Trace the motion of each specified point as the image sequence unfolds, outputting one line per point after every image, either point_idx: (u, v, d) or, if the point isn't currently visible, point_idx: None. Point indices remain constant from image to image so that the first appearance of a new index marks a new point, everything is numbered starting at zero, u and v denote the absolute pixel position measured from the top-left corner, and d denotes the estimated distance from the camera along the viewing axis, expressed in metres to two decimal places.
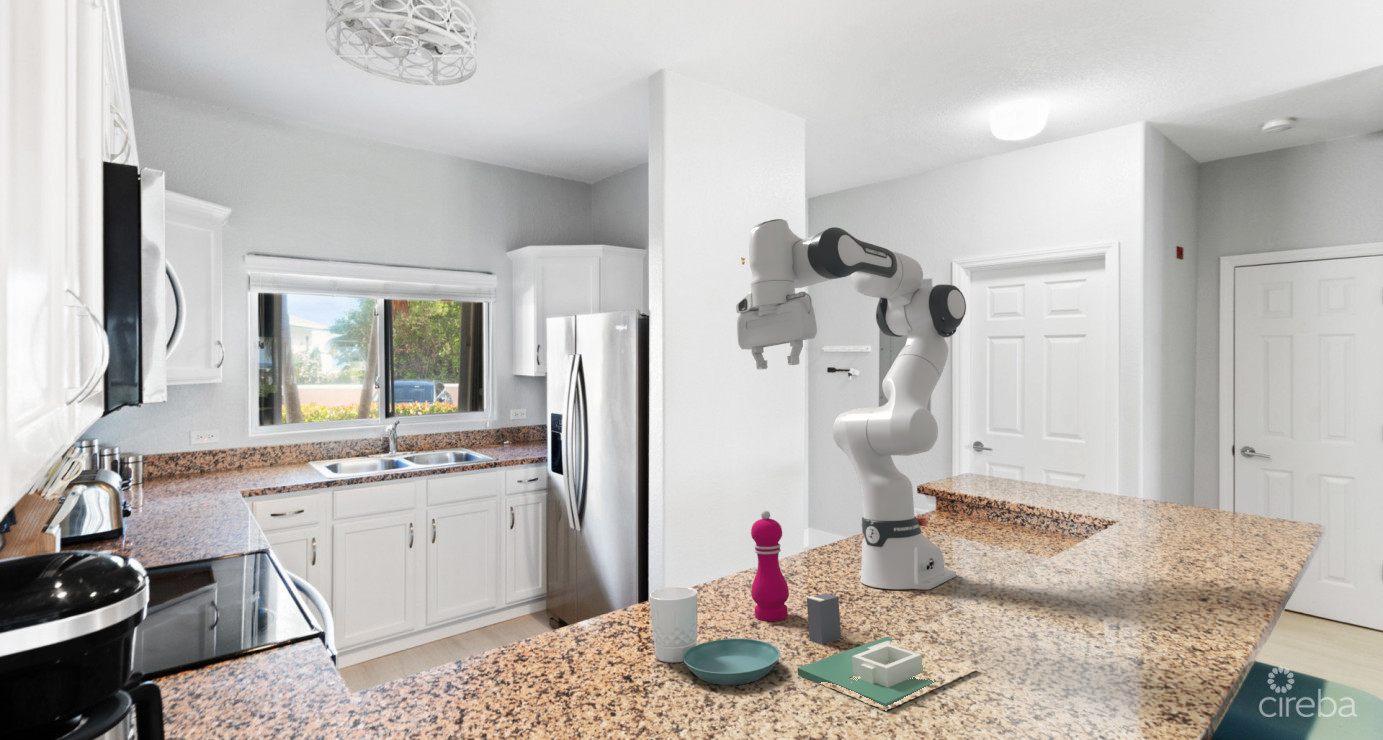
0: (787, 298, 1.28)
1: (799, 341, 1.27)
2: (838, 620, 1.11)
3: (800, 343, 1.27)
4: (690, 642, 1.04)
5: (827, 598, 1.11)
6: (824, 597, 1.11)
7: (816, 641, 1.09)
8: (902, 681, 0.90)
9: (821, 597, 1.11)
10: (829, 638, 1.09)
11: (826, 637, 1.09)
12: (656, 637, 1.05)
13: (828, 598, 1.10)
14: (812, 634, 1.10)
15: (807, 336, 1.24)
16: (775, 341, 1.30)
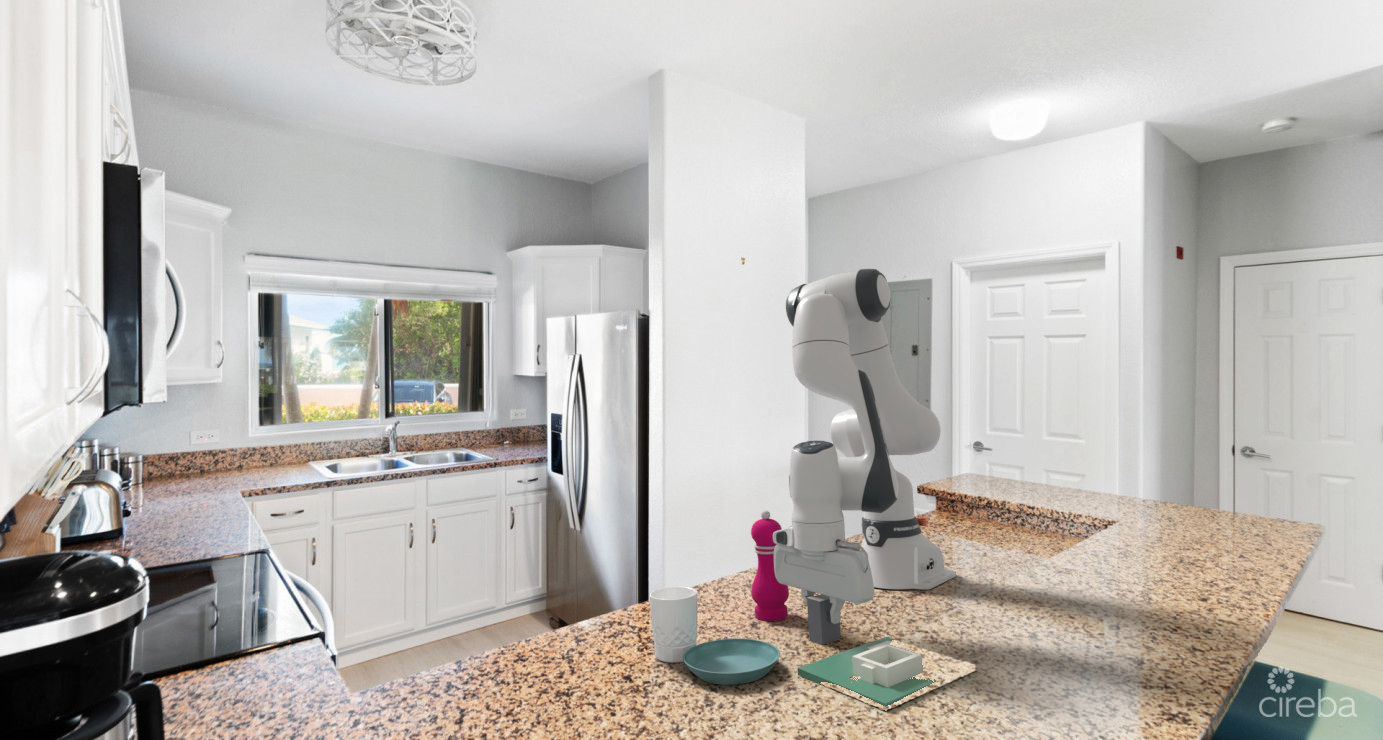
0: (837, 544, 1.08)
1: None
2: None
3: (841, 600, 1.08)
4: (690, 642, 1.04)
5: (827, 597, 1.11)
6: (824, 596, 1.11)
7: (816, 641, 1.09)
8: (902, 681, 0.90)
9: (821, 597, 1.11)
10: (829, 638, 1.09)
11: (826, 636, 1.09)
12: (656, 637, 1.05)
13: (828, 598, 1.10)
14: (812, 634, 1.10)
15: (863, 601, 1.03)
16: (822, 593, 1.09)
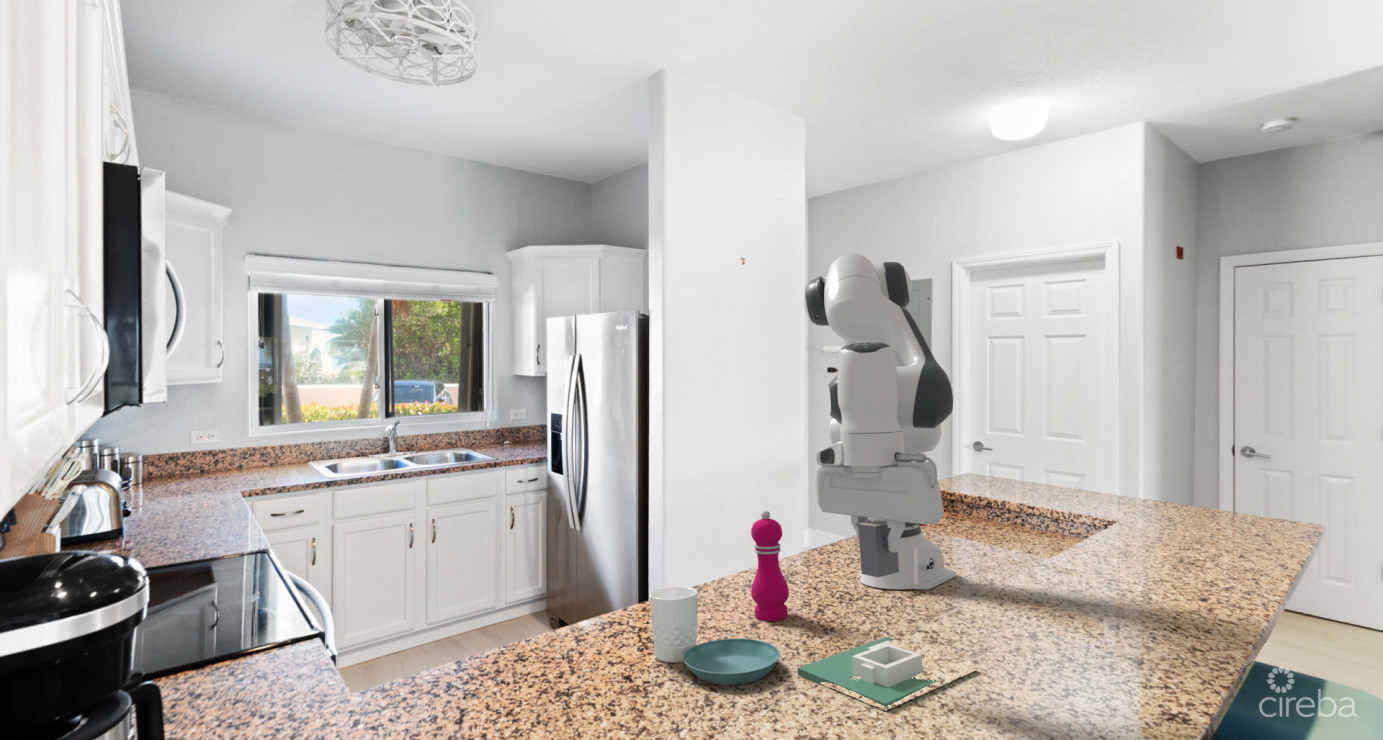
0: (896, 458, 0.91)
1: (900, 521, 0.91)
2: None
3: (901, 524, 0.91)
4: (690, 642, 1.04)
5: (883, 523, 0.94)
6: (878, 523, 0.94)
7: (870, 574, 0.92)
8: (902, 681, 0.90)
9: (875, 523, 0.94)
10: (886, 570, 0.92)
11: (882, 568, 0.92)
12: (656, 637, 1.05)
13: (884, 524, 0.93)
14: (866, 566, 0.93)
15: (931, 521, 0.86)
16: (878, 517, 0.92)
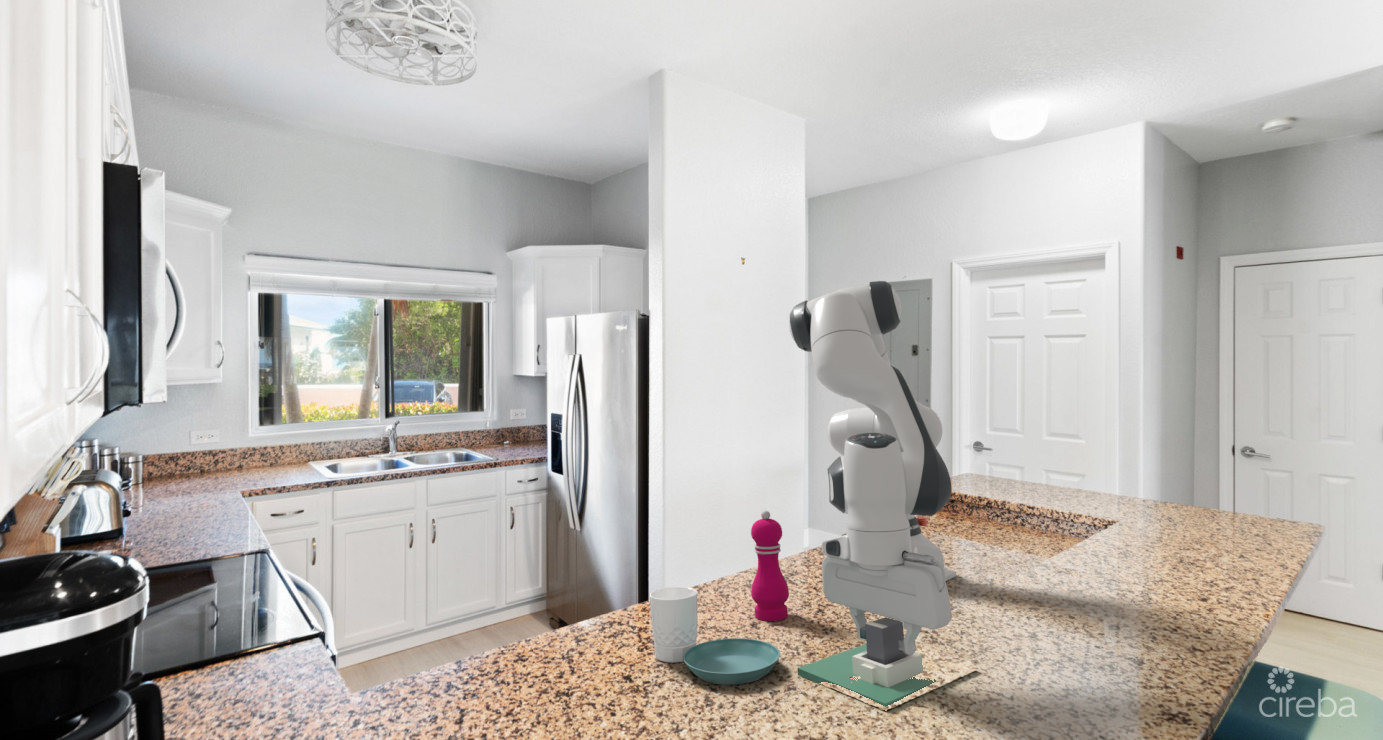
0: (904, 557, 0.90)
1: None
2: None
3: (918, 626, 0.89)
4: (690, 642, 1.04)
5: (890, 623, 0.93)
6: (885, 622, 0.93)
7: None
8: (902, 681, 0.90)
9: (882, 622, 0.93)
10: None
11: None
12: (656, 637, 1.05)
13: (891, 624, 0.92)
14: None
15: (939, 627, 0.85)
16: (885, 615, 0.91)
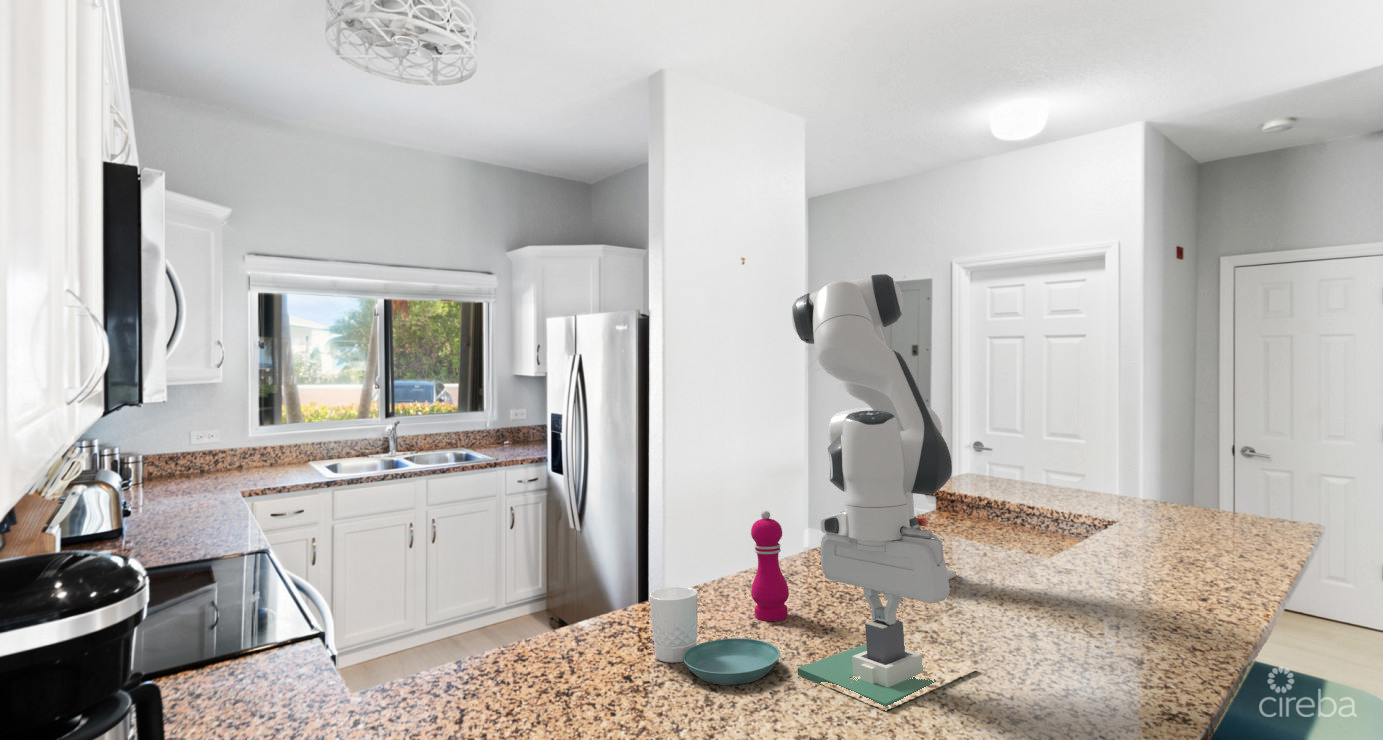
0: (902, 532, 0.90)
1: None
2: (903, 650, 0.93)
3: (898, 597, 0.92)
4: (690, 642, 1.04)
5: None
6: None
7: None
8: (902, 681, 0.90)
9: None
10: None
11: None
12: (656, 637, 1.05)
13: (891, 624, 0.92)
14: None
15: (937, 601, 0.85)
16: (883, 591, 0.91)
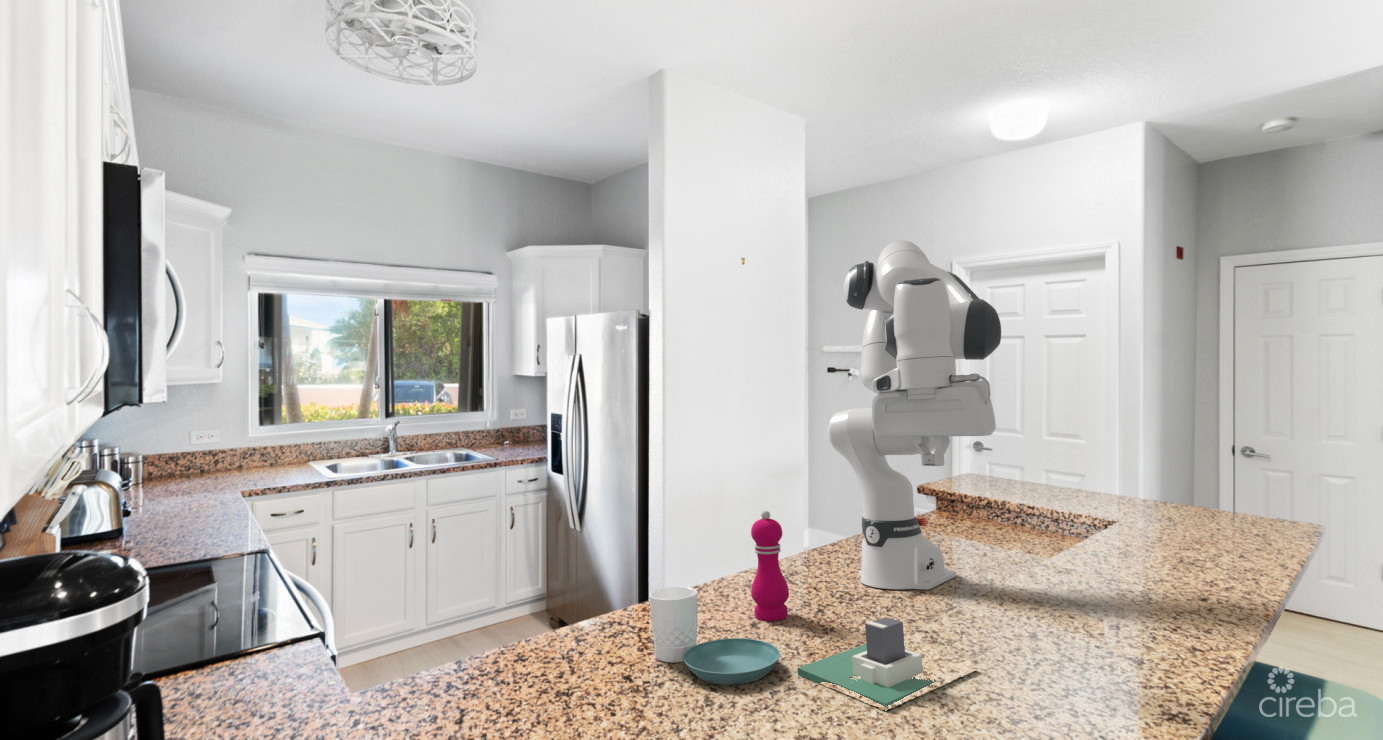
0: (951, 380, 1.00)
1: (946, 437, 1.01)
2: (903, 650, 0.93)
3: (946, 440, 1.01)
4: (690, 642, 1.04)
5: (890, 623, 0.93)
6: (885, 622, 0.93)
7: None
8: (902, 681, 0.90)
9: (882, 622, 0.93)
10: None
11: None
12: (656, 637, 1.05)
13: (891, 624, 0.92)
14: None
15: (985, 433, 0.95)
16: (933, 434, 1.01)
